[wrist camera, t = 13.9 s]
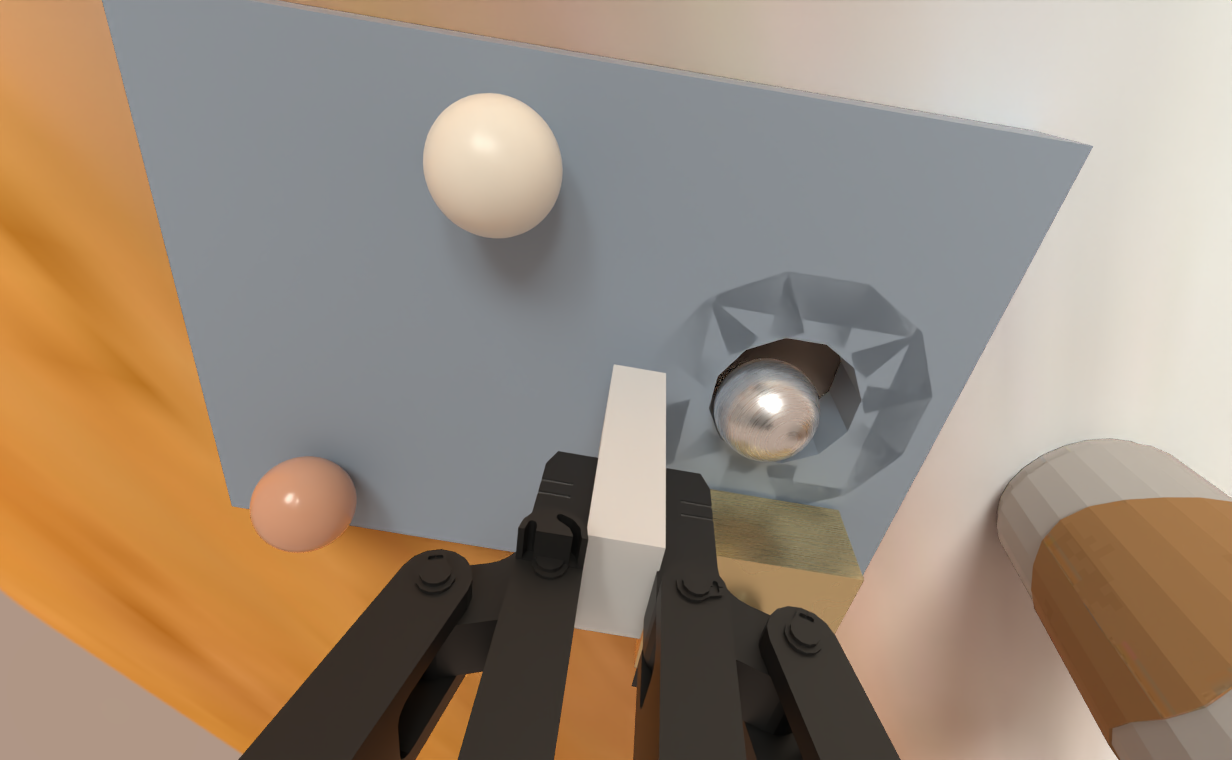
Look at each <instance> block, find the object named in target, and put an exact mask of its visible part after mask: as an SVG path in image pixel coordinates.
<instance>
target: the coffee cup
mask: <svg viewBox="0 0 1232 760" xmlns="http://www.w3.org/2000/svg"><path fill="white" fill-rule="evenodd" d="M997 514H998V521H997V530H998V537H999V540H1000V542H1001V544H1002V546H1003V548H1004V550H1005V551H1006V553H1007V555H1008V557H1009V559H1010V560H1011V562H1012V564H1013V566H1014V568H1015V569H1016V571H1017V573H1018V575H1019V577H1020V579H1021V580H1022V582H1023V584H1024V586H1025V588H1026V589H1027V591H1028V593H1029V595H1030V597H1031V599H1032V600H1033V603H1034V609H1035V611H1036V612H1037V614H1038V616H1039V618H1040V620H1041V622H1042V623H1043V625H1044V627H1045V629H1046V631H1047V633H1048V634H1049V636H1050V638H1051V640H1052V642H1053V644H1054V645H1055V647H1056V649H1057V651H1058V653H1059V655H1060V656H1061V658H1062V660H1063V662H1064V664H1065V666H1066V668H1067V669H1068V671H1069V673H1070V675H1071V677H1072V679H1073V680H1074V682H1075V684H1076V686H1077V688H1078V690H1079V691H1080V693H1081V695H1082V697H1083V699H1084V701H1085V702H1086V704H1087V706H1088V708H1089V710H1090V712H1091V713H1092V715H1093V717H1094V719H1095V721H1096V723H1097V725H1098V726H1099V728H1100V730H1101V732H1102V734H1103V736H1104V737H1105V739H1106V741H1107V743H1108V745H1109V746H1110V748H1111V749H1112V751H1113V752H1114V754H1115V755H1116V757H1117V758H1118V760H1232V498H1231V497H1229V496H1228V495H1227V494H1225V493H1224V492H1222V491H1221V490H1220V489H1218V488H1217V487H1215V486H1214V485H1213V484H1211V483H1210V482H1208V481H1207V480H1206V479H1204V478H1203V477H1201V476H1200V475H1199V474H1197V473H1196V472H1194V471H1193V470H1192V469H1190V468H1189V467H1187V466H1186V465H1185V464H1183V463H1182V462H1180V461H1179V460H1178V459H1176V458H1175V457H1174V456H1172V455H1171V454H1169V453H1167V452H1164V451H1162V450H1159V449H1157V448H1155V447H1152V446H1149V445H1141V444H1137V443H1134V442H1132V441H1125V440H1117V439H1097V440H1086V441H1082V442H1078V443H1074V444H1070V445H1066V446H1063V447H1061V448H1058V449H1056V450H1054V451H1051V452H1049V453H1047V454H1045V455H1042V456H1041V457H1039V458H1038V459H1036V460H1035V461H1033V462H1032V463H1030V464H1029V465H1027V466H1026V467H1024V468H1023V469H1022V470H1021V471H1020V472H1019V473H1018V474H1017V475H1016V476H1015V477H1014V478H1013V479H1012V480H1011V481H1010V482H1009V484H1008V485H1007V487H1006V489H1005V490H1004V492H1003V494H1002V495H1001V497H1000V501H999V506H998V510H997Z"/></svg>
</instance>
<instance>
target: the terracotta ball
mask: <svg viewBox="0 0 1232 760" xmlns="http://www.w3.org/2000/svg"><path fill="white" fill-rule="evenodd" d="M356 504H357V495H356V490H355V486H354V483H353V481H352V480H351V478H350V476H349V475H348V474H347V472H346V471H345V470H344V469H343V468H341V467H340V466H339V465H337V464H336V463H334V462H332V461H330V460H328V459H325V458H321V457H314V456H303V457H296V458H292V459H289V460H286V461H284V462H281V463H279V464H278V465H276V466H274V467H273V468H271V469H270V470H269V471H268V472H267V473H266V474H265V475H264V476H263V477H262V478H261V479H260V481H259V482H258V483H257V485H256V487H255V489H254V491H253V494H252V497H251V501H250V518H251V521H252V524H253V527H254V529H255V530H256V532H257V534H258V535H259V536H260V537H261V538H262V539H263V540H264V541H265V542H266V543H268V544H269V545H271V546H272V547H274V548H277V549H279V550H282V551H286V552H292V553H304V552H310V551H314V550H317V549H320V548H323V547H325V546H327V545H329V544H330V543H332V542H333V541H335V540H336V539H337V538H339V537H340V536H341V535H342V534H343V533H344V531H345V530H346V529H347V528H348V526H349V524H350V523H351V521H352V519H353V516H354V513H355V510H356Z"/></svg>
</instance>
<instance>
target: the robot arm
mask: <svg viewBox="0 0 1232 760" xmlns="http://www.w3.org/2000/svg"><path fill="white" fill-rule="evenodd" d="M711 507H712V502H711V492H710V488H709V486H708V485H707V483H706V482H705V480H704V478H703V477H702V475H701V474H699V473H693V472H687V471H681V470H675V469H670V468H666V373H662V372H656V371H650V370H644V369H638V368H633V367H627V366H621V365H615V364H614V366H613V372H612V377H611V383H610V389H609V395H608V400H607V406H606V412H605V417H604V423H603V429H602V435H601V440H600V446H599V452H598V458H597V457H591V456H585V455H579V454H573V453H567V452H561V451H558V452H557V453H556V454H555V455H554V456H553V457H552V458H551V459H550V460H549V461H548V462H547V463H546V465H545V469H544V472H543V476H542V480H541V483H540V486H539V490H538V494H537V497H536V500H535V504H534V507H533V511H532V513H531V514H529V515H528V516H527V517H525V518H524V519H523V520H522V522H521V524H520V526H519V527H518V535H517V546H516V552H515V553H513V554H512V555H511V556H509V557H507V558H505V559H503V560H500V561H497V562H493V563H487V564H478V565H469V563H468V562H467V560H466V559H465V558H464V557H462V556H461V555H459V554H457V553H456V552H452V551H447V550H442V549H440V550H430V551H426V552H423V553H421V554H418V555H416V556H414V557H413V558H411V559H410V560H409V561H408V562H407V563H405V564H404V565H403V566H402V568H401V569H400V570H399V571H398V572H397V573H396V575H395V576H394V577H393V578H392V579H391V581H390V582H389V583H388V584H387V585H386V586H385V588H384V589H383V590H382V591H381V592H380V594H379V595H378V596H377V597H376V598H375V599H374V601H373V602H372V603H371V604H370V605H369V606H368V608H367V609H366V610H365V611H364V612H363V614H362V615H361V616H360V617H359V618H358V619H357V621H356V622H355V623H354V624H353V625H352V626H351V628H350V629H349V630H348V631H347V632H346V634H345V635H344V636H343V637H342V638H341V639H340V641H339V642H338V643H337V644H336V645H335V647H334V648H333V649H332V650H331V651H330V652H329V654H328V655H327V656H326V657H325V658H324V659H323V661H322V662H321V663H320V664H319V665H318V667H317V668H316V669H315V670H314V671H313V672H312V674H311V675H310V676H309V677H308V678H307V679H306V681H305V682H304V683H303V684H302V685H301V687H300V688H299V689H298V690H297V691H296V692H295V694H294V695H293V696H292V697H291V698H290V700H289V701H288V702H287V703H286V704H285V705H284V707H283V708H282V709H281V710H280V711H279V712H278V714H277V715H276V716H275V717H274V718H273V720H272V721H271V722H270V723H269V724H268V725H267V727H266V728H265V729H264V730H263V731H262V732H261V734H260V735H259V736H258V737H257V738H256V740H255V741H254V742H253V743H252V744H251V745H250V747H249V748H248V749H247V750H246V751H245V753H244V754H243V755H242V756H241V757H240V758H239V760H415V759H416V758H417V756H418V754H419V753H420V751H421V749H422V748H423V746H424V744H425V743H426V741H427V739H428V737H429V736H430V734H431V732H432V731H433V729H434V727H435V726H436V724H437V722H438V721H439V719H440V717H441V716H442V714H443V712H444V711H445V709H446V707H447V706H448V704H449V702H450V700H451V699H452V697H453V695H454V694H455V692H456V690H457V689H458V687H459V685H460V684H461V682H462V680H463V679H464V677H465V675H466V674H469V673H475V672H482V671H483V673H482V677H481V680H480V684H479V687H478V691H477V694H476V698H475V701H474V705H473V708H472V712H471V715H470V719H469V722H468V726H467V729H466V733H465V736H464V740H463V743H462V747H461V750H460V754H459V757H458V760H554V755H555V748H556V742H557V735H558V729H559V722H560V716H561V709H562V703H563V696H564V690H565V683H566V677H567V670H568V664H569V657H570V651H571V644H572V638H573V631H574V628H577V629H583V630H589V631H595V632H601V633H607V634H613V635H619V636H625V637H631V638H637V639H640V638H641V634H642V631H643V648H642V651H641V655H640V658H639V662H638V665H637V669H636V672H635V676H634V680H633V683H632V686H634V687H637V696H636V716H635V736H634V757H633V760H900V758H899V756H898V754H897V752H896V750H895V748H894V746H893V744H892V742H891V741H890V739H889V737H888V735H887V733H886V731H885V729H884V727H883V725H882V723H881V722H880V720H879V718H878V716H877V714H876V712H875V710H874V708H873V706H872V704H871V703H870V701H869V699H868V697H867V695H866V693H865V691H864V689H863V687H862V685H861V683H860V682H859V680H858V678H857V676H856V674H855V672H854V670H853V668H852V666H851V664H850V663H849V661H848V659H847V657H846V655H845V653H844V651H843V649H842V647H841V645H840V644H839V642H838V640H837V638H836V636H835V634H834V633H833V632H832V630H831V629H830V628H829V626H828V625H827V623H825V622H824V621H823V620H822V619H820V618H819V617H818V616H817V615H815V614H814V613H812V612H810V611H807V610H805V609H803V608H799V607H792V606H786V607H782V608H778V609H776V610H775V611H774V612H773V613H772V614H771V615H769V614H767V613H764V612H762V611H760V610H758V609H756V608H754V607H751V606H749V605H747V604H746V603H744V602H742V601H740V600H739V599H738V598H736V597H735V596H734V595H733V594H731V593H730V591H729V590H728V589H727V587H726V584H725V582H724V581H723V580H722V578H721V577H720V576H719V571H718V565H717V555H716V544H715V534H714V523H713V513H712V508H711Z"/></svg>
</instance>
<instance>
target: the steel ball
mask: <svg viewBox="0 0 1232 760" xmlns="http://www.w3.org/2000/svg"><path fill="white" fill-rule="evenodd" d="M714 419H715V423H716V426H717V429H718V431H719V433H720V435H721V437H722V438H723V440H724V441H725V442H726V443H727V444H728V445H729V446H730V447H731V448H732V449H733V450H734V451H736V452H737V453H738V454H740V455H742V456H744V457H746V458H749V459H752V460H755V461H761V462H775V461H780V460H784V459H787V458H789V457H791V456H793V455H795V454H797V453H798V452H800V451H801V450H802V449H803V448H804V447H805V446H806V445H807V444H808V443H809V442H810V441H811V439H812V438H813V436H814V434H815V432H816V430H817V427H818V425H819V420H820V401H819V397H818V394H817V391H816V389H815V387H814V385H813V384H812V382H811V381H810V379H809V378H808V377H807V376H806V375H805V374H804V373H803V372H802V371H801V370H800V369H798V368H797V367H795V366H793V365H792V364H789V363H787V362H785V361H781V360H778V359H770V358H763V359H755V360H751V361H748V362H745V363H743V364H741V365H739V366H738V367H736V368H735V369H734V370H732V371H731V372H730V373H729V374H728V375H727V376H726V377H725V378H724V380H723V381H722V382H721V384H720V386H719V388H718V390H717V393H716V396H715V400H714Z"/></svg>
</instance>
